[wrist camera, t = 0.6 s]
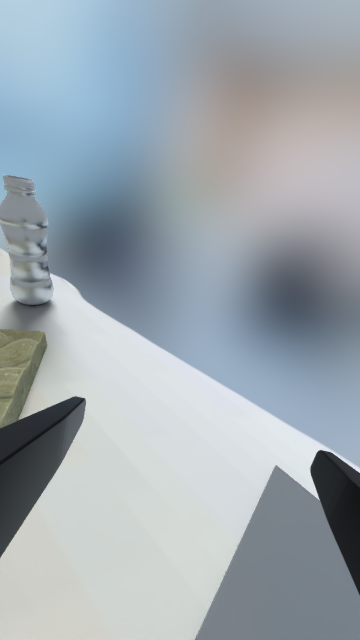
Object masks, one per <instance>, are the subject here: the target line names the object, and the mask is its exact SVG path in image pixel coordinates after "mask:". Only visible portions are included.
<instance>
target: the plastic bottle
mask: <svg viewBox="0 0 360 640" xmlns="http://www.w3.org/2000/svg"><path fill="white" fill-rule="evenodd" d="M3 179H4V189H5V190H7V196H6V197H5V199H4V200H3V201H2V203H1V205H0V224H1V227H2V230H3V233H4V236H5V239H6V243H7V247H8V250H9V256H10V266H11V279H10V290H11V292H12V295H13V297H14V298H15V299H16V300H17V301H18V302H20V303H23V304H28V305H38V304H43V303H46V302H48V301H49V300H50V299H51V298H52V296H53V289H54V288H53V284H52V280H51V277H50V273H49V268H48V262H47V254H46V253H47V233H48V218H47V216H46V213H45V212H44V211H43V209H42V207H41V206H40V205H39V204H38V202H37V201H36V200H35V198H34V195H36V191H35V188H34V182H33V180H30V179H26V178H21V177H16V176H10V175H3Z"/></svg>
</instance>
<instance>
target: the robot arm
mask: <svg viewBox="0 0 360 640" xmlns="http://www.w3.org/2000/svg"><path fill="white" fill-rule="evenodd" d="M85 405H86V399H85V398H81V397H76V396H75V397H72V398H70V399H67V400H65V401H63V402H60V403H58V404H56V405H53V406H51V407H49V408H46V409H44V410H42V411H39V412H37V413H35V414H32V415H30V416H28V417H25V418H23V419H21V420H18V421H16V422H14V423H11V424H9V425H7V426H4V427H2V428H0V557H1V556H2V554H3V553H4V551H5V550H6V548H7V547H8V545H9V543H10V542H11V540H12V539H13V537H14V536H15V534H16V533H17V531H18V530H19V528H20V527H21V525H22V523H23V522H24V520H25V519H26V517H27V516H28V514H29V513H30V511H31V510H32V508H33V507H34V505H35V503H36V502H37V500H38V499H39V497H40V496H41V494H42V493H43V491H44V490H45V488H46V486H47V485H48V483H49V482H50V480H51V479H52V477H53V476H54V474H55V473H56V471H57V469H58V468H59V466H60V465H61V463H62V461H63V459H64V457H65V455H66V453H67V451H68V449H69V447H70V445H71V444H72V442H73V440H74V438H75V436H76V434H77V432H78V430H79V428H80V426H81V424H82V422H83V418H84V412H85ZM310 472H311V476H312V479H313V482H314V485H315V487H316V490H317V493H318V496H319V499H320V502H321V505H322V508H323V510H324V513H325V516H326V519H327V521H328V524H329V526H330V529H331V531H332V533H333V536H334V538H335V540H336V543H337V545H338V547H339V550H340V552H341V554H342V556H343V559H344V561H345V563H346V566H347V568H348V570H349V573H350V575H351V577H352V579H353V582H354V584H355V586H356V589H357V591H358V593H359V595H360V473H359V472H358V471H356V470H355V469H353V468H352V467H351V466H349V465H348V464H346V463H345V462H344V461H342V460H341V459H340V458H338V457H337V456H335V455H334V454H333V453H331V452H327V451H323V450H319V451H318V452H317V454H316V456H315V458H314V460H313V463H312V465H311V469H310Z"/></svg>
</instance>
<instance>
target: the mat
mask: <svg viewBox="0 0 360 640" xmlns="http://www.w3.org/2000/svg"><path fill="white" fill-rule="evenodd" d="M195 640H360V595H359V593H358V591H357V589H356V586H355V584H354V582H353V579H352V577H351V575H350V573H349V570H348V568H347V566H346V563H345V561H344V559H343V556H342V554H341V552H340V550H339V547H338V545H337V543H336V540H335V538H334V536H333V533H332V531H331V529H330V526H329V524H328V521H327V519H326V516H325V513H324V510H323V508H322V505H321V502H320V501H319V500H318V499H317V498H316V497H315V496H313V495H312V494H311V493H310V492H308V491H307V490H306V489H305V488H304V487H302V486H301V485H300V484H299V483H297V482H296V481H295V480H294V479H293V478H291V477H290V476H289V475H288V474H286V473H285V472H284V471H283V470H282V469H280V468H279V467H278V466H277V465H276V466H275V468H274V470H273V472H272V474H271V476H270V478H269V481H268V483H267V485H266V487H265V489H264V491H263V494H262V496H261V498H260V500H259V502H258V504H257V507H256V509H255V511H254V513H253V515H252V517H251V520H250V522H249V524H248V526H247V528H246V530H245V533H244V535H243V537H242V539H241V541H240V543H239V546H238V548H237V550H236V552H235V554H234V556H233V559H232V561H231V563H230V565H229V567H228V569H227V572H226V574H225V576H224V578H223V580H222V582H221V585H220V587H219V589H218V591H217V593H216V595H215V598H214V600H213V602H212V604H211V606H210V608H209V611H208V613H207V615H206V617H205V619H204V621H203V624H202V626H201V628H200V630H199V632H198V634H197V637H196V639H195Z"/></svg>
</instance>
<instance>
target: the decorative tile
mask: <svg viewBox="0 0 360 640" xmlns="http://www.w3.org/2000/svg"><path fill="white" fill-rule="evenodd" d="M46 347H47V342H46V337H45V333H44V332H40V331H22V330H2V329H0V428H2V427H4V426H7V425H9V424H11V423H14V422H16V421H17V420H18V418H19V416H20V413H21V411H22V408H23V406H24V404H25V401H26V398H27V396H28V393H29V391H30V388H31V385H32V383H33V380H34V378H35V375H36V373H37V370H38V368H39V365H40V362H41V360H42V357H43V355H44V352H45V350H46Z"/></svg>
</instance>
